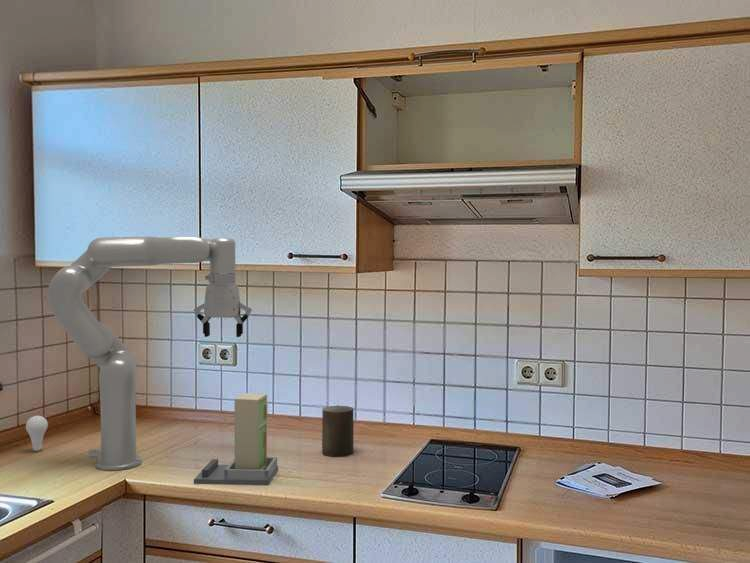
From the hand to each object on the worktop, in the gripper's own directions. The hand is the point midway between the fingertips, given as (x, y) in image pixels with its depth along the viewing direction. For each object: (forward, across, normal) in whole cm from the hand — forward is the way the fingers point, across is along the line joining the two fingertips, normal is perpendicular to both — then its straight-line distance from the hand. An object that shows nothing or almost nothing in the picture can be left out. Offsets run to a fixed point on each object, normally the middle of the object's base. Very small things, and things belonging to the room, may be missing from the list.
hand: (223, 336), depth 208 cm
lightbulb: (+36, -59, +2) cm, 69 cm away
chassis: (+36, +9, -19) cm, 42 cm away
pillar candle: (+36, +34, +6) cm, 50 cm away
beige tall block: (+35, +13, -19) cm, 42 cm away
